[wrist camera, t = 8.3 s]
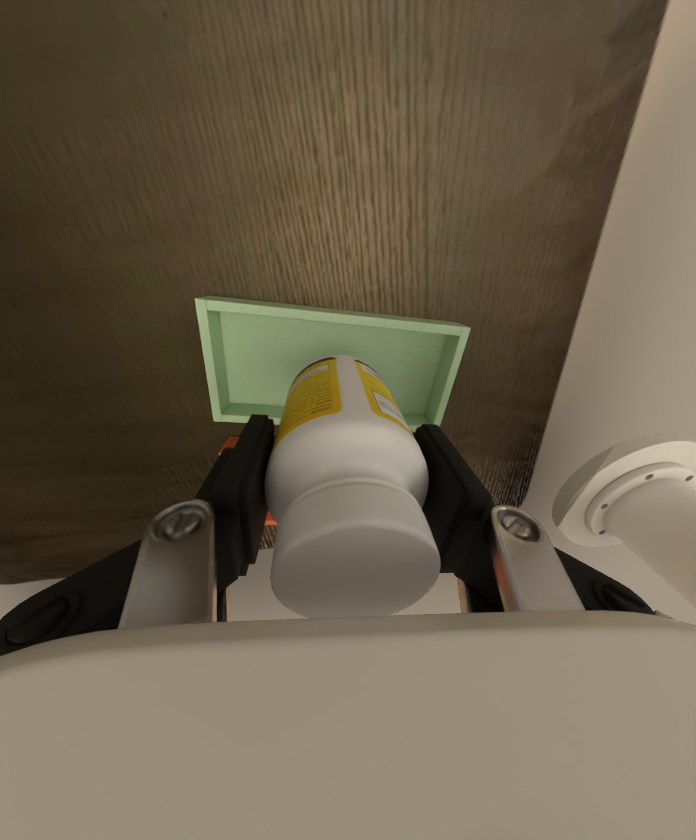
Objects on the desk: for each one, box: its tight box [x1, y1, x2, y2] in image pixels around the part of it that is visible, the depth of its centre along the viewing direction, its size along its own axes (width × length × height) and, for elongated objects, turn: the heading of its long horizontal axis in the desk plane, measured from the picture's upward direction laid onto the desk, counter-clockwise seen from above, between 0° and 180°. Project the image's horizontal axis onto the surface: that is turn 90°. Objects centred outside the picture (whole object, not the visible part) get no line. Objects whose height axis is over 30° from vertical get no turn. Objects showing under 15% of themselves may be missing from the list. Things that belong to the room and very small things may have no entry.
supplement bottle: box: [264, 355, 441, 618], centre depth 10 cm, size 5×5×10 cm
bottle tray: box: [195, 296, 471, 432], centre depth 19 cm, size 17×8×2 cm, turn 84°
